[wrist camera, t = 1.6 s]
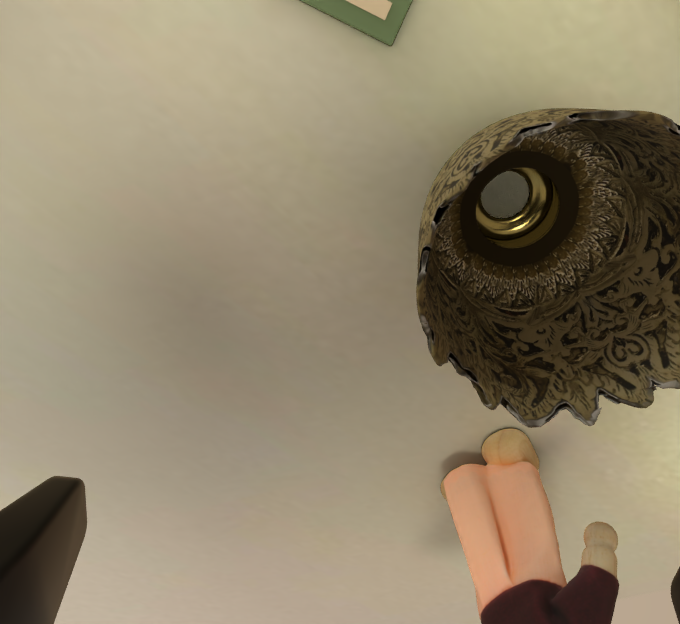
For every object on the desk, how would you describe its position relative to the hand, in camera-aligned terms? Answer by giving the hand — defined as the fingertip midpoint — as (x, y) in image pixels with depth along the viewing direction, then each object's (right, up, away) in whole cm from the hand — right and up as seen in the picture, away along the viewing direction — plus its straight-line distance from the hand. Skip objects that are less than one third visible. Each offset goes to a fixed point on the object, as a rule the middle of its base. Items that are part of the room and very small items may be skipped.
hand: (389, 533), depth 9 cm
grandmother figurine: (+5, -4, +17) cm, 18 cm away
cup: (+5, +7, +12) cm, 15 cm away
